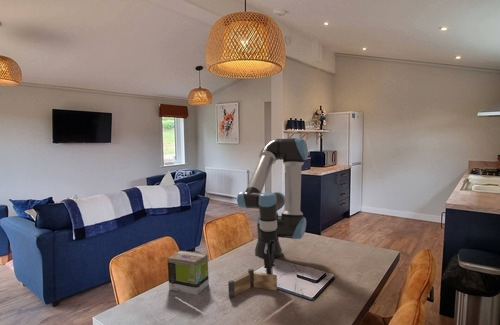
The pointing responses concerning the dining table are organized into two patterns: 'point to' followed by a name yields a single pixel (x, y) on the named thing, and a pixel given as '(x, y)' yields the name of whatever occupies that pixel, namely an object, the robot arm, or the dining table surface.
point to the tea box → (188, 272)
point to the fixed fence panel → (239, 285)
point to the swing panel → (263, 280)
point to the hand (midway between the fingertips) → (269, 281)
